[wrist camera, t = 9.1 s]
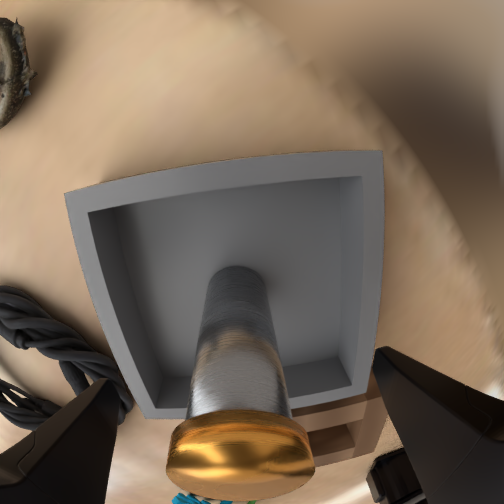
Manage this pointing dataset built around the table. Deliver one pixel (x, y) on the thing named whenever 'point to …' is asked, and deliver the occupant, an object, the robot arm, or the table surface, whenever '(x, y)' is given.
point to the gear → (192, 503)
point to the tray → (242, 254)
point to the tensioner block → (344, 425)
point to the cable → (53, 346)
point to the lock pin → (238, 402)
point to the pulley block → (13, 69)
